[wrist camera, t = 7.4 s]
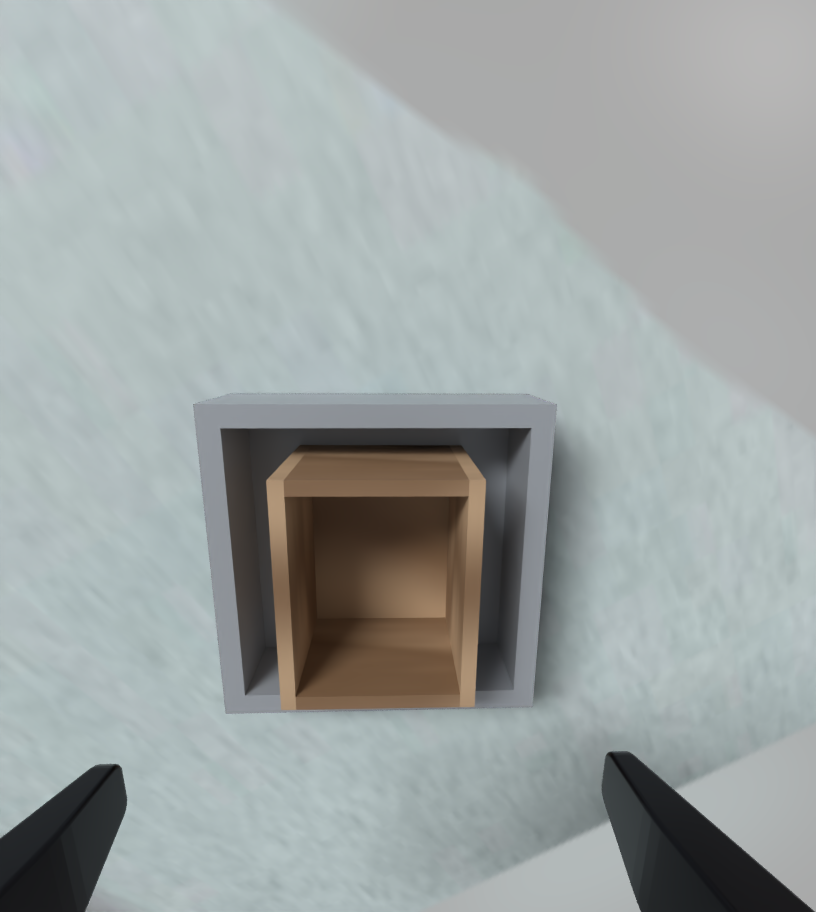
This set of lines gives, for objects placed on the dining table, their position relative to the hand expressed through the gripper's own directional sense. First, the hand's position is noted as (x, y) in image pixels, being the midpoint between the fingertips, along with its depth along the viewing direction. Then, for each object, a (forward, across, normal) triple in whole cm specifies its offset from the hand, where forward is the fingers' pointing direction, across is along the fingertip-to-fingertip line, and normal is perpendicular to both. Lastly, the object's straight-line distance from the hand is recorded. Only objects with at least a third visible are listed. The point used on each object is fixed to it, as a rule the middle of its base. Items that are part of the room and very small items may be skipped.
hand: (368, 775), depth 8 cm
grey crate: (+12, 0, 0) cm, 12 cm away
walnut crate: (+11, 0, 0) cm, 11 cm away
